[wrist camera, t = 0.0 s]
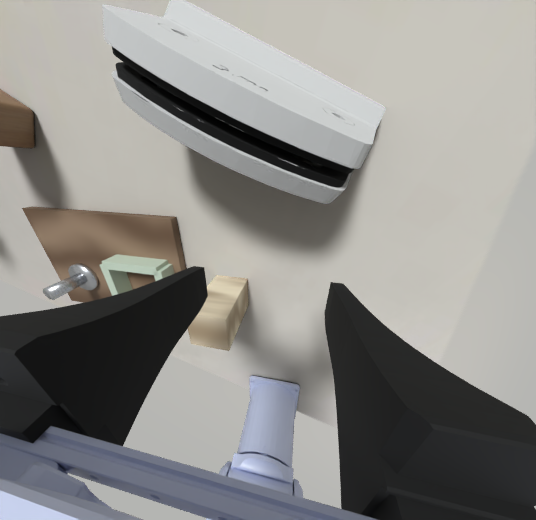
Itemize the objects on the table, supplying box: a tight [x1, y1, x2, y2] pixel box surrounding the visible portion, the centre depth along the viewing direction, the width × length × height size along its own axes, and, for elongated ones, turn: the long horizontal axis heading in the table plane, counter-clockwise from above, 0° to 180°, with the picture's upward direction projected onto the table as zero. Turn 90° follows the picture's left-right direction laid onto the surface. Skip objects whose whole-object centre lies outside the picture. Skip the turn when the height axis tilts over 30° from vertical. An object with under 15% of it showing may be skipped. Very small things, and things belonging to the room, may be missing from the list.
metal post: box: [43, 263, 99, 300], centre depth 25 cm, size 4×4×4 cm
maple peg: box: [188, 275, 248, 351], centre depth 21 cm, size 4×4×7 cm
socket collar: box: [100, 254, 174, 296], centre depth 24 cm, size 8×8×2 cm
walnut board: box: [22, 207, 186, 302], centre depth 25 cm, size 14×20×1 cm
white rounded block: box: [102, 0, 386, 204], centre depth 12 cm, size 17×5×10 cm, turn 66°
